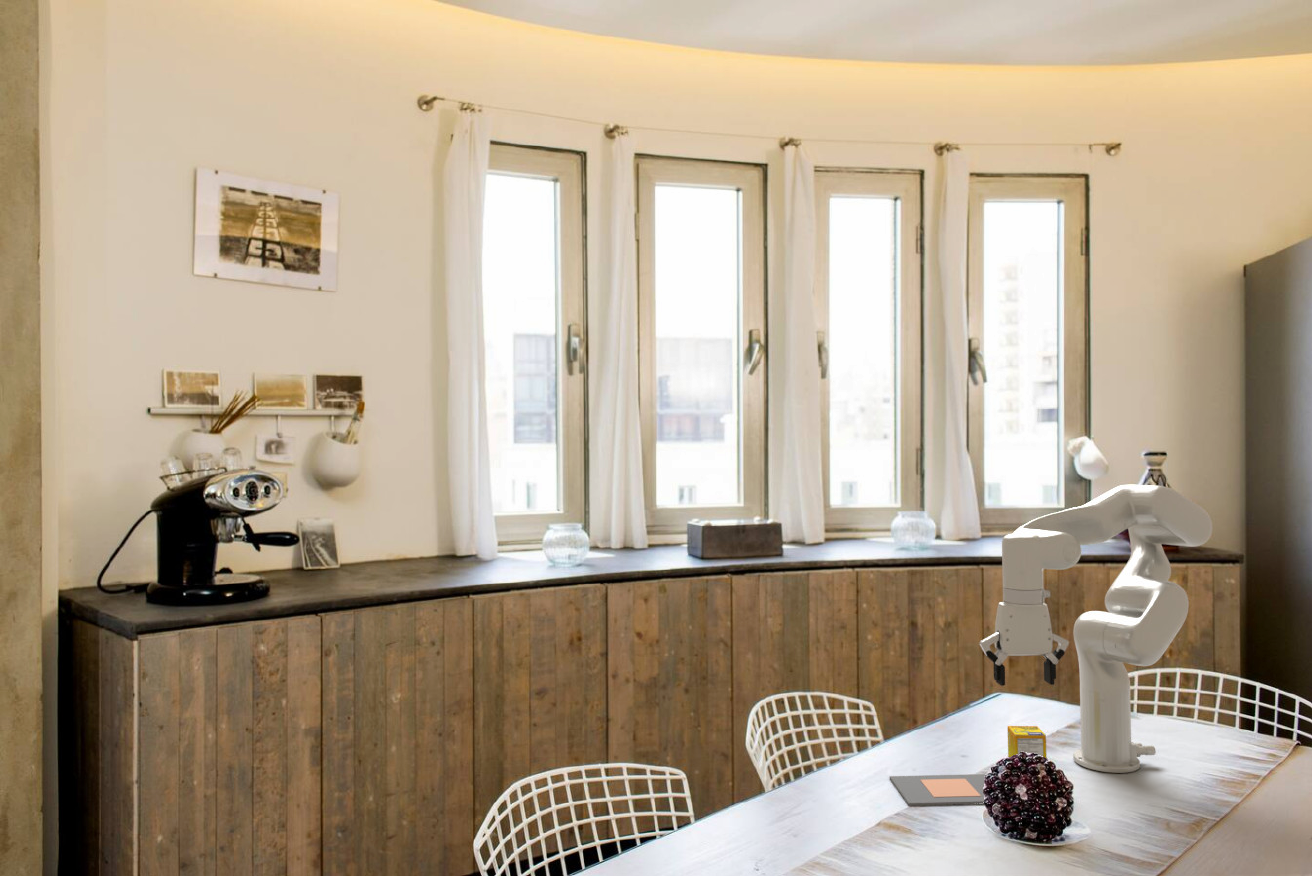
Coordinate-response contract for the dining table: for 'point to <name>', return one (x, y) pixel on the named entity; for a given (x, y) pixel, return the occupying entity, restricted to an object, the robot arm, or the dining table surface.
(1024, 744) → the supplement box
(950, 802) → the mat
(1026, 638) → the robot arm
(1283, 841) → the dining table surface
